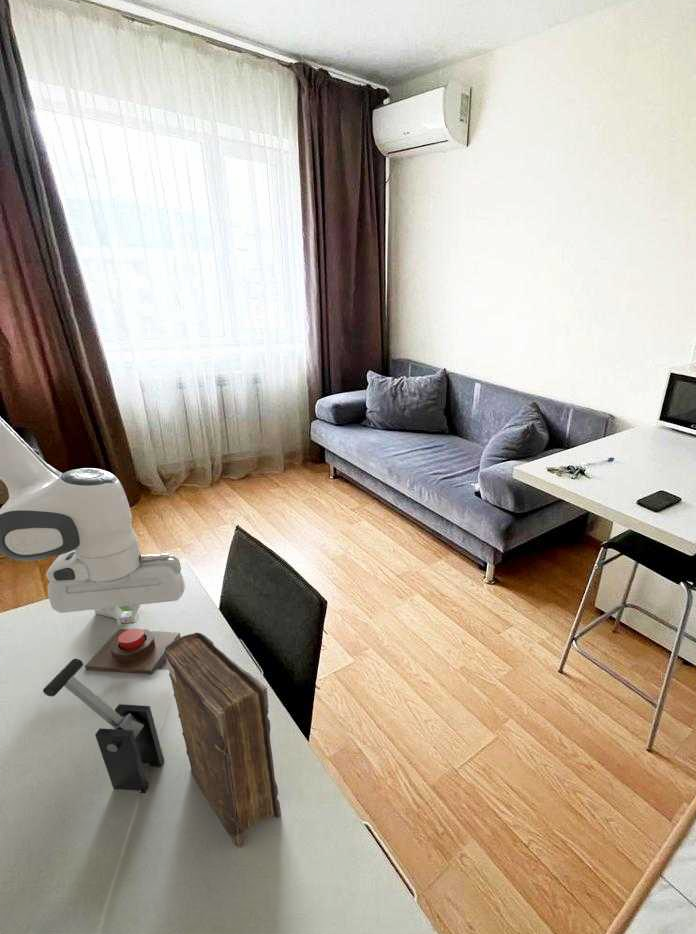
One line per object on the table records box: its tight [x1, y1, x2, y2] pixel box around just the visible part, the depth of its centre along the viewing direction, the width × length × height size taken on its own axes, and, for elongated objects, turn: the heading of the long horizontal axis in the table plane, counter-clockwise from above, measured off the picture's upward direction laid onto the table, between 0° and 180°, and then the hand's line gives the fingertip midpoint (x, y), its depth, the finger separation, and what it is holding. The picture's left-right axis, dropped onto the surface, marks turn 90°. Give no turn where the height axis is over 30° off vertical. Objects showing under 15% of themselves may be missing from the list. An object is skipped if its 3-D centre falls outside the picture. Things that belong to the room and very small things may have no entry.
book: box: [164, 632, 282, 849], centre depth 66 cm, size 17×7×25 cm, turn 45°
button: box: [118, 627, 145, 650], centre depth 92 cm, size 4×4×2 cm
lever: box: [42, 658, 144, 738], centre depth 66 cm, size 13×5×2 cm
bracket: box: [94, 703, 165, 794], centre depth 70 cm, size 12×9×13 cm
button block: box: [84, 628, 182, 675], centre depth 93 cm, size 12×10×4 cm
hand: (128, 621), depth 91 cm, fingers closed
